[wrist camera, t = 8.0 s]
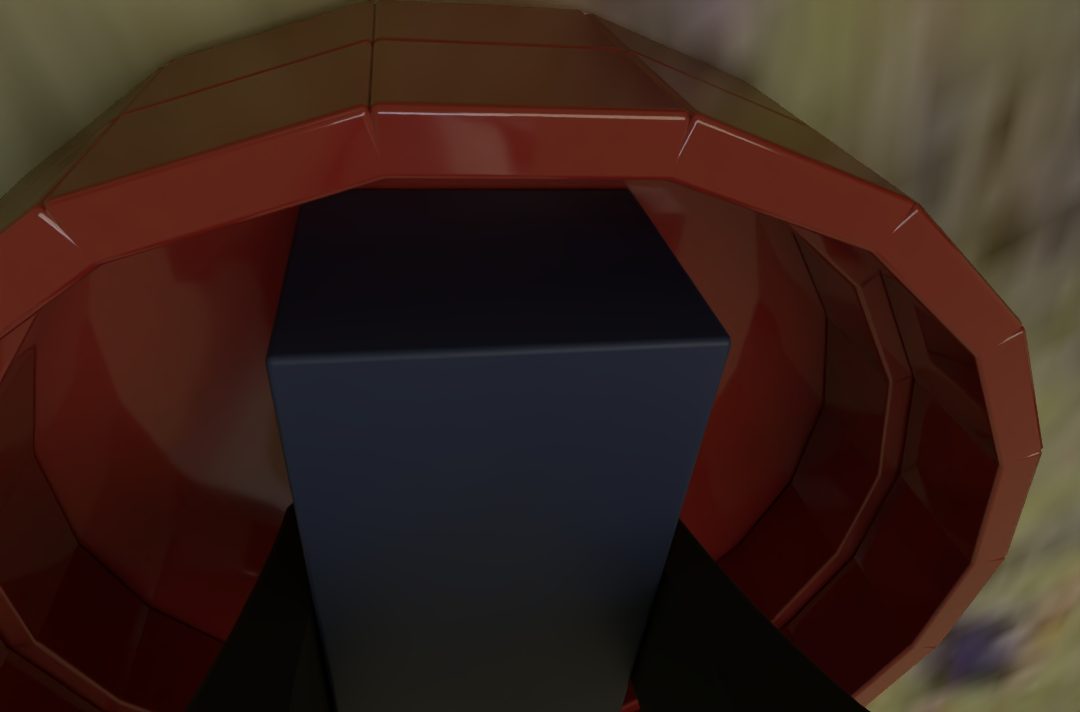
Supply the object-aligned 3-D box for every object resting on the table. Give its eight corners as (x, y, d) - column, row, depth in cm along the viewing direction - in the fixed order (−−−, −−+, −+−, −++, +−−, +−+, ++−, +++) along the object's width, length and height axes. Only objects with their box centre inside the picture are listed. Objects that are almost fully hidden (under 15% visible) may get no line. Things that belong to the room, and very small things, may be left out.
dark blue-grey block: (559, 620, 17) (598, 793, 14) (362, 642, 16) (357, 833, 13) (632, 187, 10) (736, 339, 7) (301, 187, 9) (262, 359, 6)
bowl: (740, 627, 20) (818, 803, 16) (133, 705, 17) (65, 940, 13) (1010, 24, 10) (1341, 127, 7) (-279, -49, 7) (-909, 70, 4)
